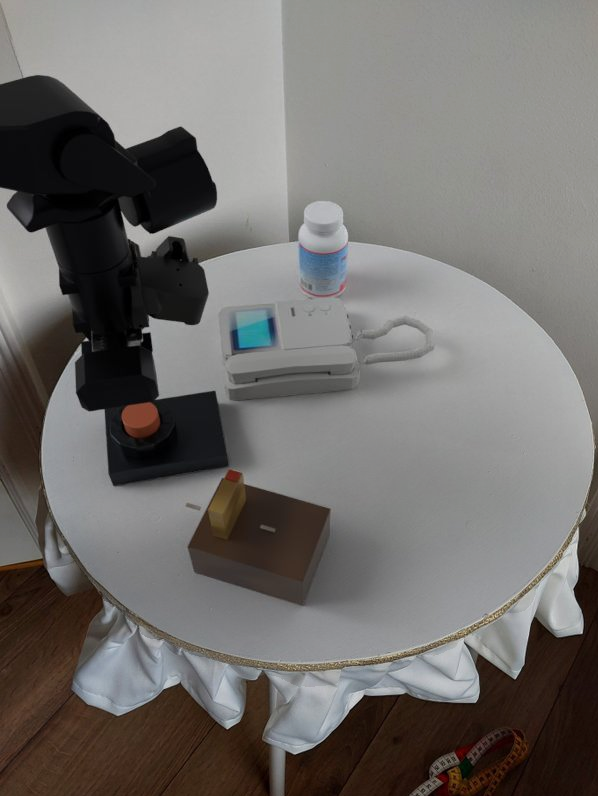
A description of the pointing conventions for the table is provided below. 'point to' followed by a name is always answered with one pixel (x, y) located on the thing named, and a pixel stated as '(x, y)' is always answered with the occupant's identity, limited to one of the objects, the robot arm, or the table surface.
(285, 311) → the intercom
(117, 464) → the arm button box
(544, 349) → the table surface
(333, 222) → the pill bottle
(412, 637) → the table surface
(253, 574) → the brown box with slot
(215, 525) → the block
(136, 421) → the arm button
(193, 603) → the table surface
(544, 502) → the table surface
